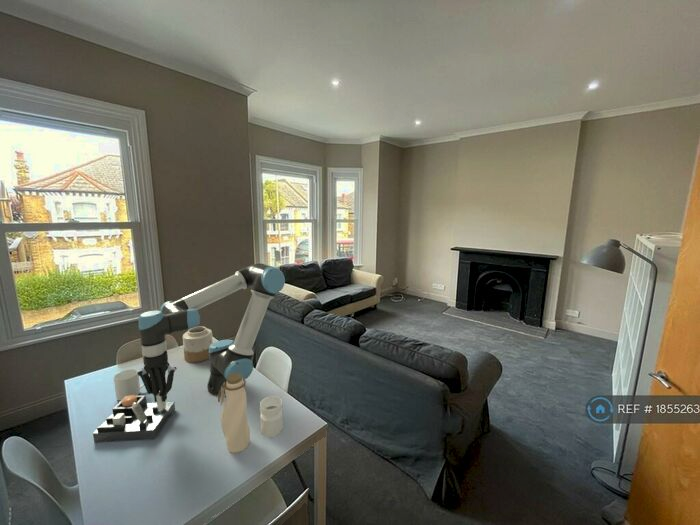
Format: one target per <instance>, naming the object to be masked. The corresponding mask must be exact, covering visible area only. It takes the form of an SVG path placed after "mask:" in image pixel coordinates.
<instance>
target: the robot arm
mask: <svg viewBox="0 0 700 525" xmlns="http://www.w3.org/2000/svg"><path fill="white" fill-rule="evenodd" d="M285 282H286V278H285V275H284V273H283V271H282V270H280V269H279V268H277V267H275V266H272V265H268V264H265V263H255V264H254V263H253V264H251V265H248V266H246V267H243V268H240V269H238V270H237V271H235V273H234V274H233V275H230V276H228V277H226V278H223V279H222V280H220V281H218V282H214V283H213V284H211V285H208V286H206V287H204V288H202V289H200V290H197V291H195V292H194V293H191V294H188V295H186V296H184V297H182V298H180V299H177V300H169V301H168V300H167V301H166V302H164V303H163V304H162V305H161V306H160V310H148V311H144V312H143V313H140V315H139V316H138V331H139V338H140V345H141V355H142V360H143V368H141V369H140V370H138V373H137V374H138V375H139V378H140V379H141V380H142V381H141V382H142V384H143V383H144V386H143V387H145V390H146V393H147V394H148V395H151V394H152V395H153V398H154V403H157V406H158V411H162V410H163V409H164V408H165V406H166V403H165V402H166V400H167V399H168V394H169V392H170V391H171V390H172V389H173V388H172V387H173V381H174V375H175V372H176V370H177V367H176V366H170V363H169V356H168V350H167V338H166V336H167V335H170V334H174V333H177V332H181V331H182V332H183V331H185V330H187V331H188V330H189V329H191V328H194V327H199V325H200V322H201V317H200V313H199V310H200V309H203V308H204V307H206V306H208V305H210V304H212V303H214V302H216V301H218V300H221V299H223V298H225V297H227V296H229V295H231V294H233V293H236V292H237V291H239V290H242V289H243V290H246V289H248V288H250V287H251V288H250V292H251V296H250V300H249V302H248V304H247V308H246V310H245V312H244V315H243V317H242V319H241V323H240V325H239V328H238V331H237V332H236V333H237V334H236V336H235V338H234V340H233V339H221V340H218V341H215V342H213V344H211V345H210V346H209V359H208V360H209V371H210V373H209V374H210V375H209V378H208V382H207V387H206V388H207V392H208V393H209V394H211V395H214V396H218V394H219V391H220V389H221V387H222V385H223V383H224V382H225V383H226V382H227V377H228V376H229V375H230V374H233V373H240V374H241V375H242V378H243V379H245V380H246V379H248V378H249V377H251V374H252V372H253V370H254V364H253V361H252V359H253V356H254V351H253V347H254V344H255V341H256V339H257V337H258V334H259V331H260V328H261V326H262V323H263V319H264V317H265V315H266V312H267V309H268V308H269V305H270V304H269V303H270V302H271V300H273V299H275V297H276V295H277V294H278V293H279V292H280V291H282V290H283V288H284V287H285V284H286V283H285ZM166 373H167V374H168V375H167V377H166ZM166 378H167V379H166ZM224 395H225V389H224ZM220 396H221V393H220Z"/></svg>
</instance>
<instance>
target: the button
mask: <svg viewBox="0 0 700 525" xmlns="http://www.w3.org/2000/svg"><path fill="white" fill-rule="evenodd" d="M137 396H138V395H137ZM137 396H136V395H131V396H127V397H125V398H124V399H123V400H122V406H123V407H131V406H132V404H133V403H137Z"/></svg>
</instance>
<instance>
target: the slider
mask: <svg viewBox="0 0 700 525" xmlns="http://www.w3.org/2000/svg"><path fill="white" fill-rule="evenodd" d="M124 423H125V414H124V413H118V414H117V415H116V416H115V417H114V418H113V425H124Z"/></svg>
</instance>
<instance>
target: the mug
mask: <svg viewBox="0 0 700 525" xmlns="http://www.w3.org/2000/svg"><path fill="white" fill-rule="evenodd" d="M138 372H139V370H138V369H134V368H130V369H129V368H128V369H125V370H121V371H120V372H117V373H116V374H114V376H113V384H114V391H115V398H116V399H117V400H118V401H119V402H120V401H121V400H122V399H123V398H124V397H125V396H131V395H136V396H139V394H140V392H141V389H142V388H143V387H145V386H144V383H143V382H142V384H141V385H140V376H139V375H138V374H137V373H138Z"/></svg>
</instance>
